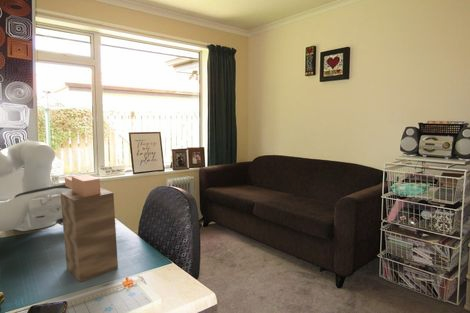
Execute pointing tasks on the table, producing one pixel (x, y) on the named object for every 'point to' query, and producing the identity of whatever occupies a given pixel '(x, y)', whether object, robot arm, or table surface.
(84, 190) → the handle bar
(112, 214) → the walnut pedestal
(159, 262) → the table surface
